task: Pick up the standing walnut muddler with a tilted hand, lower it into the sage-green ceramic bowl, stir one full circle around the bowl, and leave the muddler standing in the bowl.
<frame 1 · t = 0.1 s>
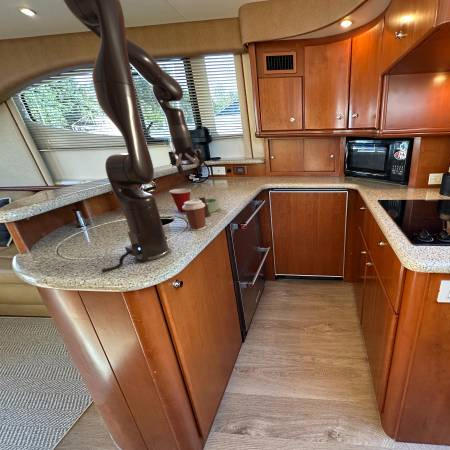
hand: (191, 173, 107), 22 cm above the countertop, tool pointing down, fingers open, 8 cm apart
plastic cup: (184, 211, 134), on the countertop
muddler: (205, 216, 121), on the countertop
coffee cup: (198, 228, 105), on the countertop
bowl: (207, 210, 131), on the countertop
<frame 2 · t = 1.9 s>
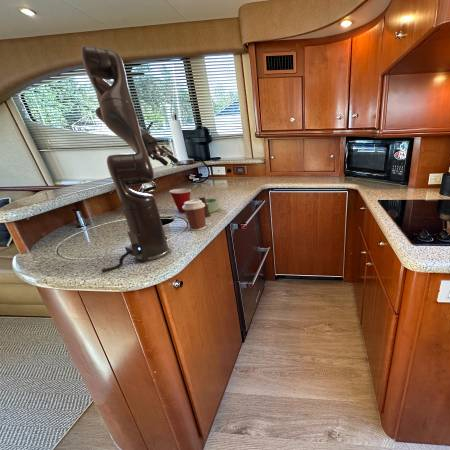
hand: (172, 163, 113), 27 cm above the countertop, tool tilted 45°, fingers open, 8 cm apart
nothing on the countertop moved.
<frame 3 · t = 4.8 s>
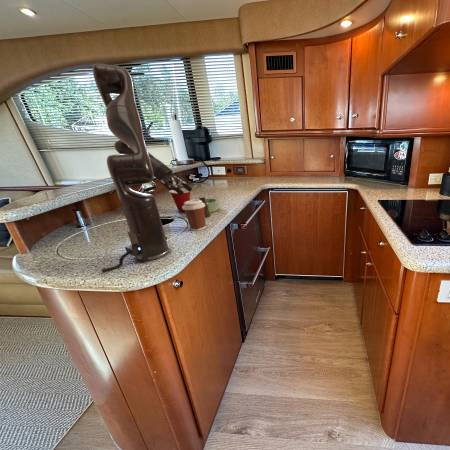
hand: (187, 192, 117), 13 cm above the countertop, tool tilted 45°, fingers open, 8 cm apart
nothing on the countertop moved.
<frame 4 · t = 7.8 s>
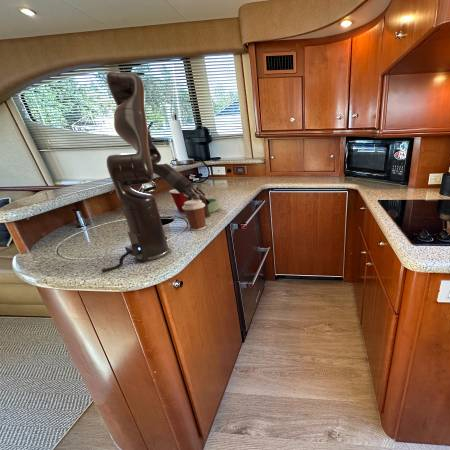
hand: (207, 204, 119), 6 cm above the countertop, tool tilted 45°, fingers closed on muddler, 4 cm apart
muddler: (205, 216, 121), on the countertop, touching gripper
everything else where it was.
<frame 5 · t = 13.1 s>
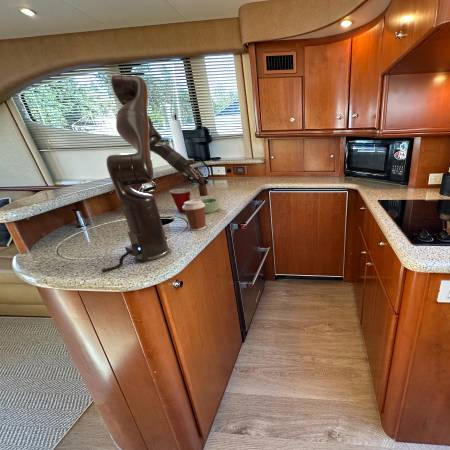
hand: (205, 184, 126), 15 cm above the countertop, tool tilted 45°, fingers closed on muddler, 4 cm apart
muddler: (203, 195, 128), point 9 cm above the countertop, touching gripper
everything else where it was.
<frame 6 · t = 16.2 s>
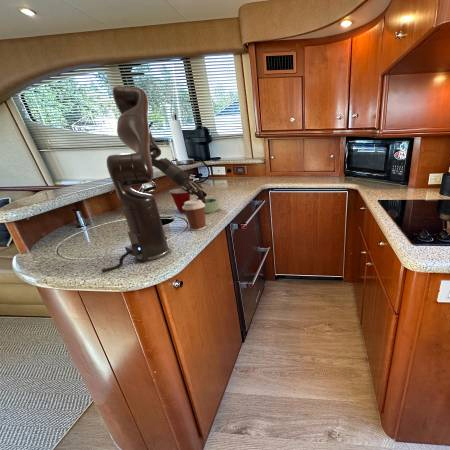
hand: (204, 196, 127), 8 cm above the countertop, tool tilted 45°, fingers closed on muddler, 4 cm apart
muddler: (202, 207, 129), point 2 cm above the countertop, touching gripper
everything else where it was.
when the fingers open (7 cm above the countertop, at t = 18.7 s): muddler stays where it is, resting on bowl.
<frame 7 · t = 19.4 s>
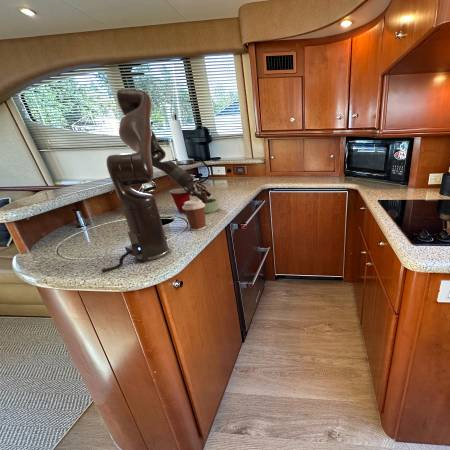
hand: (206, 197, 128), 7 cm above the countertop, tool tilted 45°, fingers open, 8 cm apart
muddler: (206, 209, 131), point 1 cm above the countertop, touching bowl
everything else where it was.
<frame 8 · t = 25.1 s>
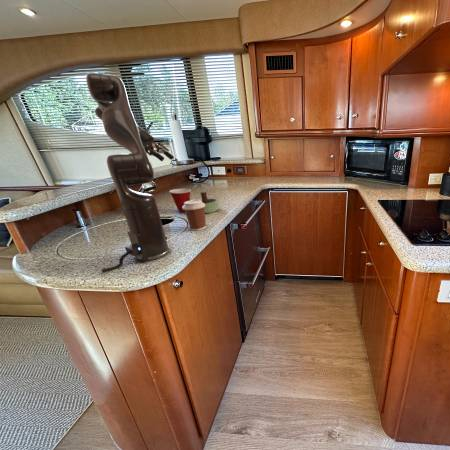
hand: (168, 159, 119), 29 cm above the countertop, tool tilted 45°, fingers open, 8 cm apart
nothing on the countertop moved.
at the end: muddler inside the target area in the bowl (0.1 cm from its centre), point 0.6 cm above the bowl's base; the gripper is holding nothing; muddler tilted 0° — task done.
